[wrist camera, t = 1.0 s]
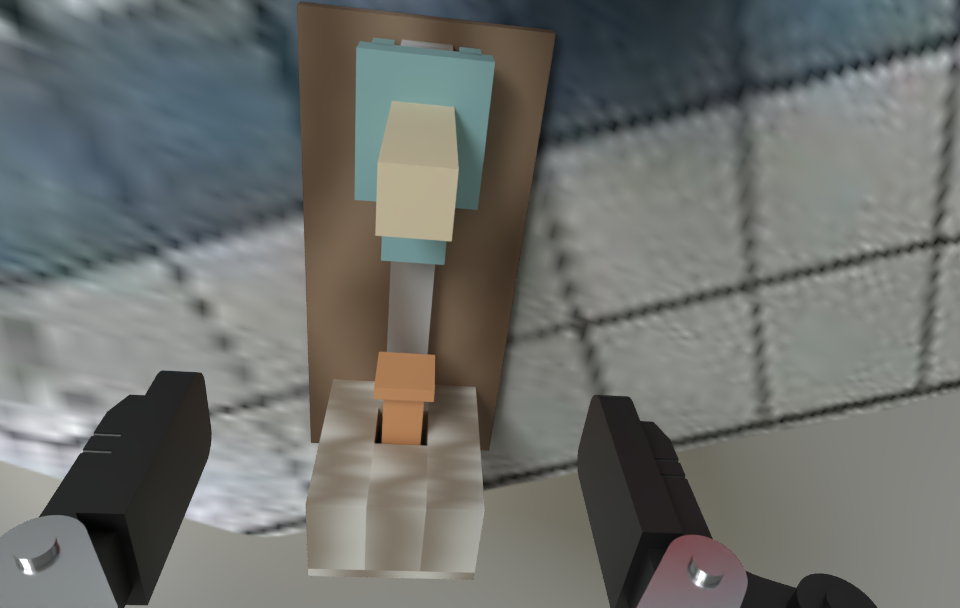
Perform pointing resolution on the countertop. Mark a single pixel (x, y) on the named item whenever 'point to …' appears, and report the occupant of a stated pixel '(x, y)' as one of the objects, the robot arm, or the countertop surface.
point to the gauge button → (404, 394)
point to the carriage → (419, 142)
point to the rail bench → (407, 305)
